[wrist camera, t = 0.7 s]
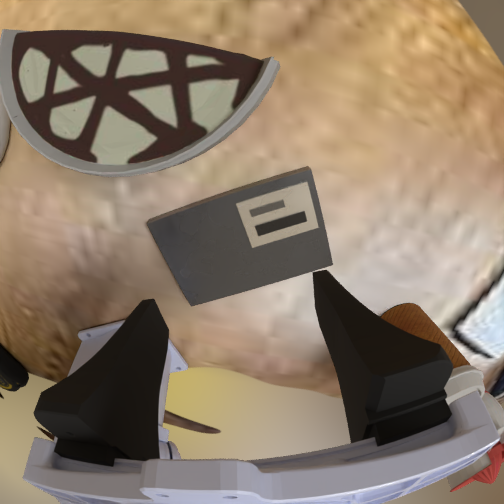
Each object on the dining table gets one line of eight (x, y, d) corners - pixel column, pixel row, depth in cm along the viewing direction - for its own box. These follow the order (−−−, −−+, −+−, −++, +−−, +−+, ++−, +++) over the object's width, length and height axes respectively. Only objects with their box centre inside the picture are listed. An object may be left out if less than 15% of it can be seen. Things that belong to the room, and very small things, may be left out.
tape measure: (34, 370, 31) (25, 391, 28) (15, 377, 32) (6, 395, 29) (0, 336, 28) (-12, 356, 25) (-16, 346, 29) (-27, 364, 26)
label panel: (192, 300, 26) (190, 308, 25) (149, 219, 22) (145, 225, 21) (330, 259, 24) (334, 266, 23) (308, 166, 20) (312, 170, 19)
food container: (69, 125, 18) (-24, 164, 9) (88, 43, 15) (-6, 30, 6) (233, 161, 20) (234, 224, 11) (262, 75, 17) (289, 62, 8)
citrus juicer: (503, 362, 39) (547, 441, 21) (473, 408, 47) (504, 475, 30) (439, 393, 39) (480, 489, 22) (416, 434, 48) (443, 510, 31)
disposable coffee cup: (389, 280, 26) (451, 382, 16) (448, 299, 28) (504, 379, 18) (340, 350, 30) (371, 449, 20) (401, 358, 32) (438, 439, 22)
